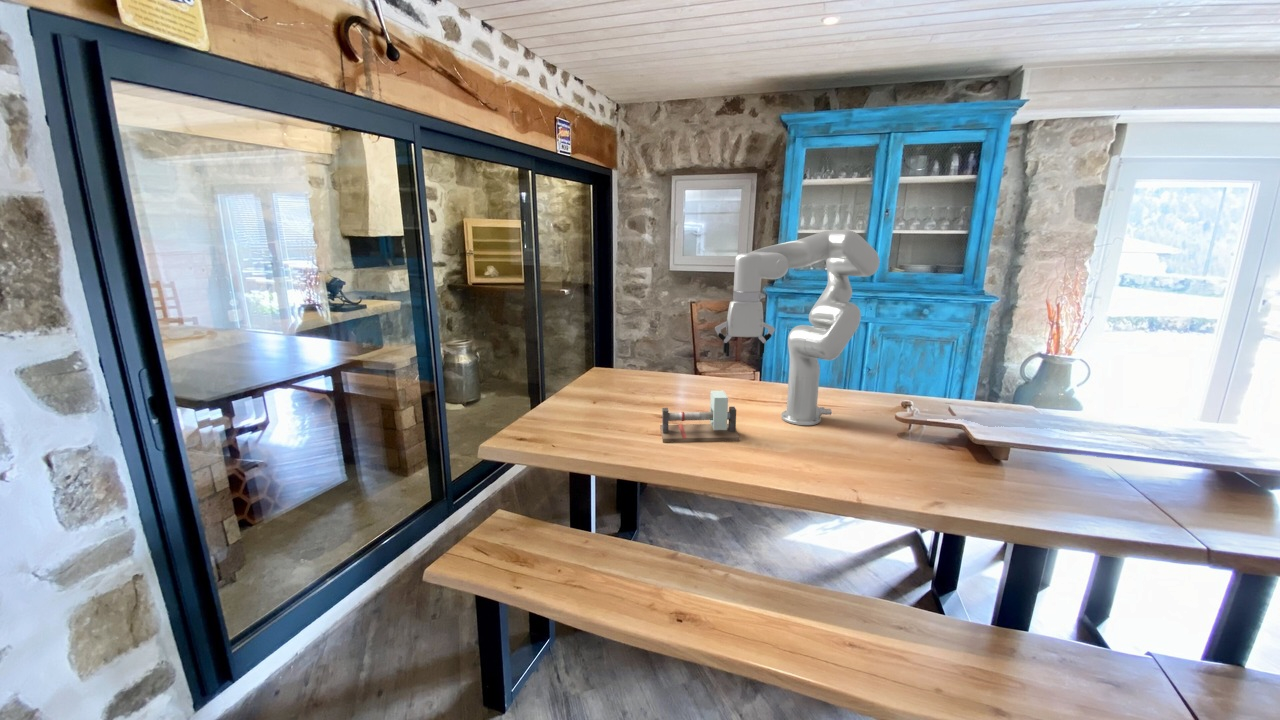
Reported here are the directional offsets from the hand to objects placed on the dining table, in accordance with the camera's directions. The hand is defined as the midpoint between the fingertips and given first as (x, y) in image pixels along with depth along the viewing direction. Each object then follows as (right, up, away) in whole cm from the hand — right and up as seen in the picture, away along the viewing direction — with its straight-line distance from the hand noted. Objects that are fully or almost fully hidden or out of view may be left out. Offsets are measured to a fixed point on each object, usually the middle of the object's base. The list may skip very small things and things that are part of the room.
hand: (743, 355), depth 147 cm
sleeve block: (-6, -22, +7) cm, 23 cm away
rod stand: (-12, -24, +7) cm, 28 cm away
